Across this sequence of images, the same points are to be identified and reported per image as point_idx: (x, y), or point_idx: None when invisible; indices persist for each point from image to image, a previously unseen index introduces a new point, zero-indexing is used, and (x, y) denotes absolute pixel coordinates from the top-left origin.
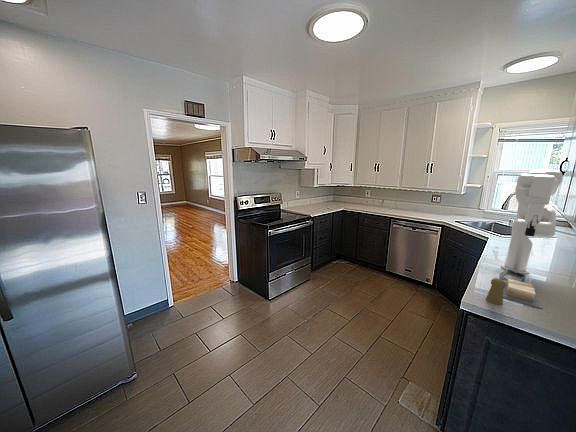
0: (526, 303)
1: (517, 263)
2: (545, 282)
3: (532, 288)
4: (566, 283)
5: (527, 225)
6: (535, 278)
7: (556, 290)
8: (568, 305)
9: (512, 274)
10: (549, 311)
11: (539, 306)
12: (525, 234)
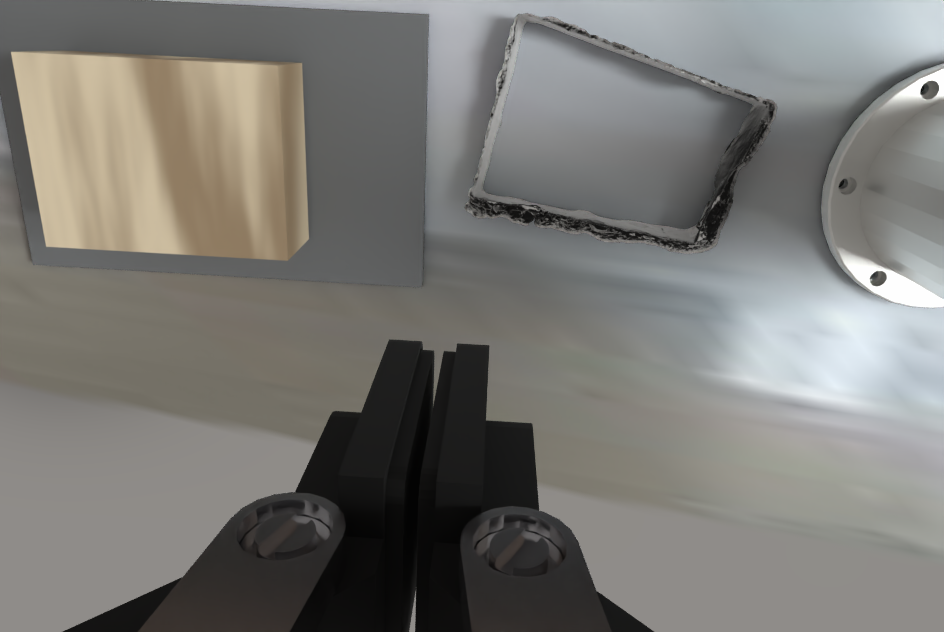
0: (19, 177)
1: (907, 209)
2: (694, 380)
3: (165, 243)
4: (779, 508)
5: (549, 572)
6: (756, 326)
7: (542, 415)
8: (274, 422)
9: (729, 150)
10: (44, 298)
11: (48, 252)
12: (387, 353)
